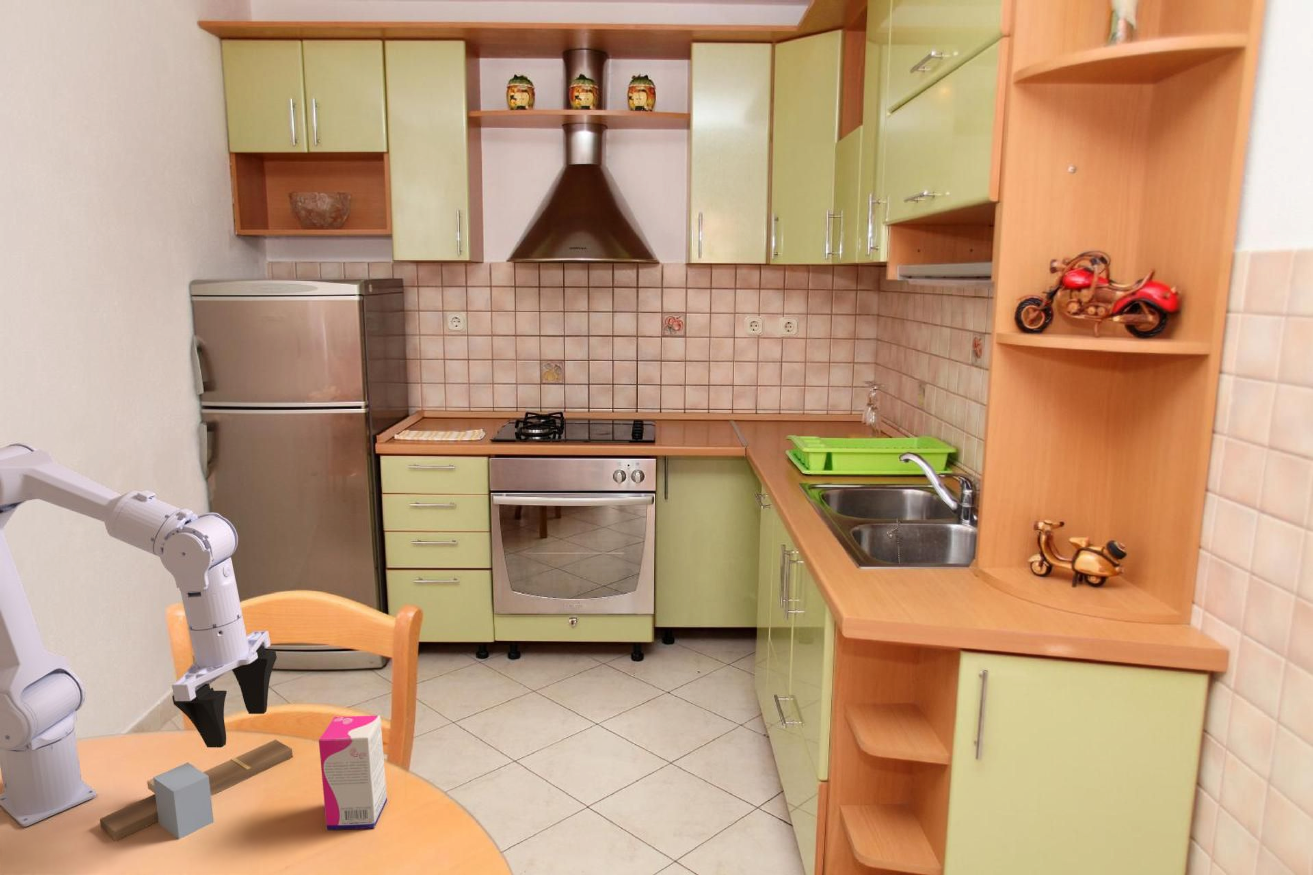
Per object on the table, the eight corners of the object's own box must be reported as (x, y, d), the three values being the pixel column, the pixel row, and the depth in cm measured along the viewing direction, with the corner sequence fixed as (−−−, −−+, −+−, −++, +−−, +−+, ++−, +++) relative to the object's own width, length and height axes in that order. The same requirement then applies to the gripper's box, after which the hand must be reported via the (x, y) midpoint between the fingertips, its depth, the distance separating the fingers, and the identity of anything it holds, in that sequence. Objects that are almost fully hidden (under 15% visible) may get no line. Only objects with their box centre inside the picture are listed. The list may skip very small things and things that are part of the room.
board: (100, 827, 105) (99, 817, 104) (276, 747, 122) (275, 738, 122) (116, 840, 102) (114, 830, 102) (292, 756, 119) (291, 748, 119)
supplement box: (388, 799, 110) (382, 713, 108) (375, 829, 104) (368, 739, 102) (340, 800, 110) (333, 714, 107) (324, 830, 104) (317, 740, 102)
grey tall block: (137, 806, 109) (131, 762, 108) (171, 791, 112) (166, 747, 111) (179, 839, 102) (173, 791, 101) (213, 822, 106) (208, 776, 104)
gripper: (203, 646, 95) (227, 762, 98) (283, 596, 109) (303, 698, 112) (146, 647, 97) (171, 761, 99) (232, 598, 111) (253, 699, 113)
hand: (237, 728), depth 106 cm, fingers open, 7 cm apart
